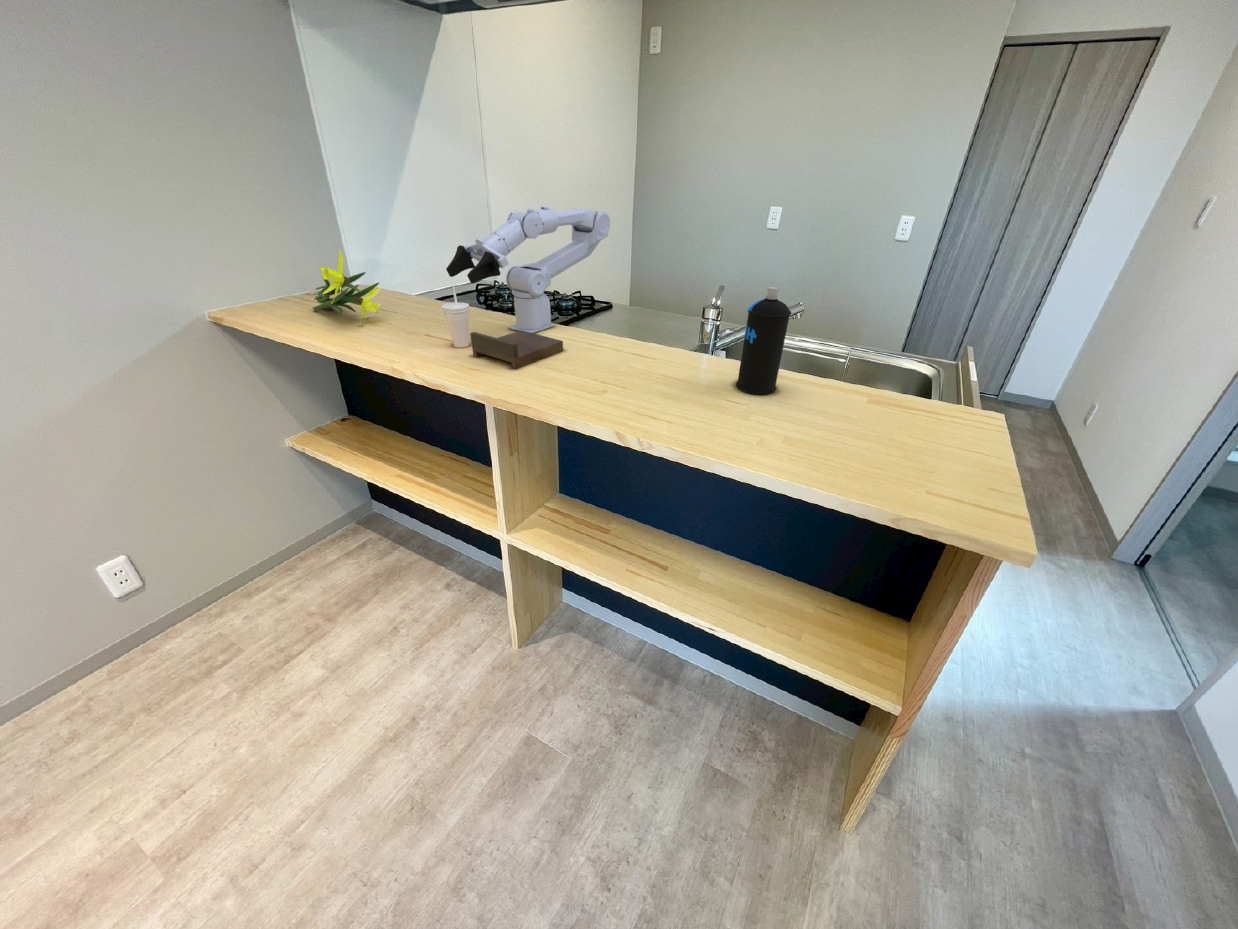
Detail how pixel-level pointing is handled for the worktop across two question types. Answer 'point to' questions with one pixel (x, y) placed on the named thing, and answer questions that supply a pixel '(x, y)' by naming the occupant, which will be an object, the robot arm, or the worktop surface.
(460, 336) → the smoothie
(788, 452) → the worktop surface
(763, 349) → the aerosol can
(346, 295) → the daffodil flowers
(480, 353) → the shelf
